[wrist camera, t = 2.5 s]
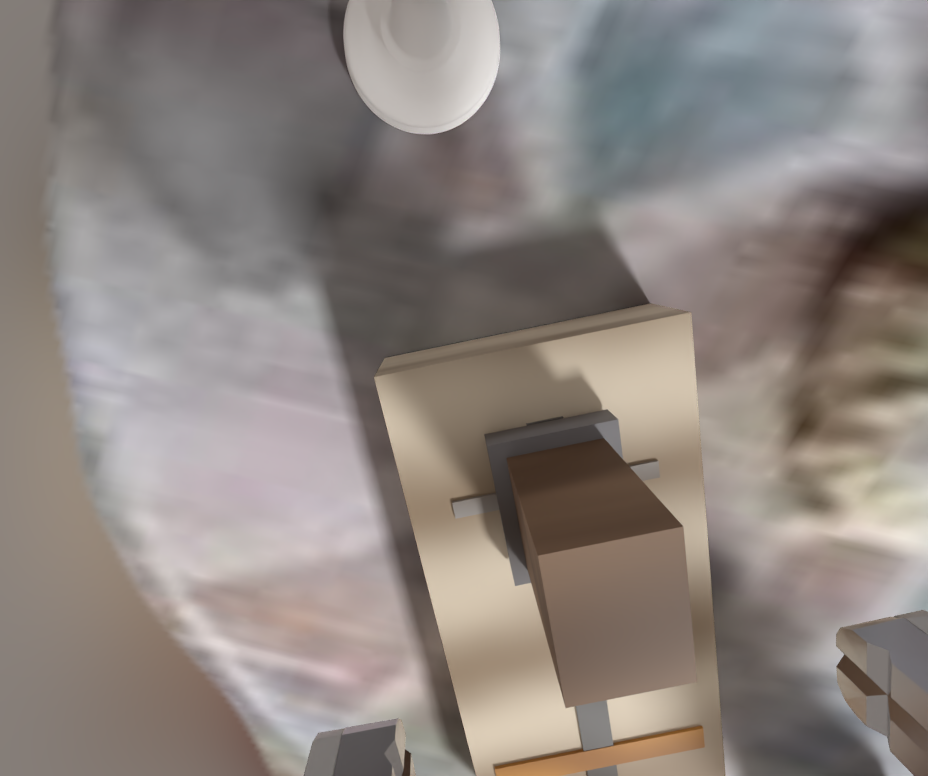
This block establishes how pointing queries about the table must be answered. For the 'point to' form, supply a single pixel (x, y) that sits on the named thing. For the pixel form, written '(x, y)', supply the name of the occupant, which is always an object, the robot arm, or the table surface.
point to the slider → (595, 558)
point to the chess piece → (422, 59)
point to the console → (484, 547)
